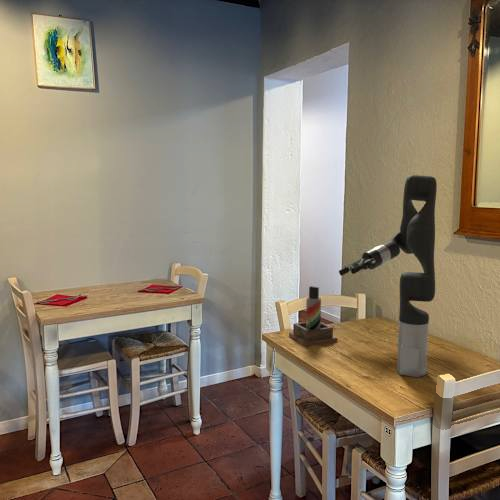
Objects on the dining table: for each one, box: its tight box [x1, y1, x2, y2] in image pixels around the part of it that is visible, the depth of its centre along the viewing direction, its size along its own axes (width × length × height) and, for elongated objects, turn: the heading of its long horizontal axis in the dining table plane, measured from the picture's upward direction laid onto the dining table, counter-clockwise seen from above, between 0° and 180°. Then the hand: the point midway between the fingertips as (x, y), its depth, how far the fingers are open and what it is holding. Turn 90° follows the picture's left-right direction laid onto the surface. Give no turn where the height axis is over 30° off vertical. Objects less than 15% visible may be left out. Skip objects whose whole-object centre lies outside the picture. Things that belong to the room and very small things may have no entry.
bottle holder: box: [288, 321, 338, 348], centre depth 194 cm, size 14×14×6 cm
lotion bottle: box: [305, 285, 322, 330], centre depth 193 cm, size 6×6×20 cm
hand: (345, 272), depth 191 cm, fingers open, 8 cm apart
